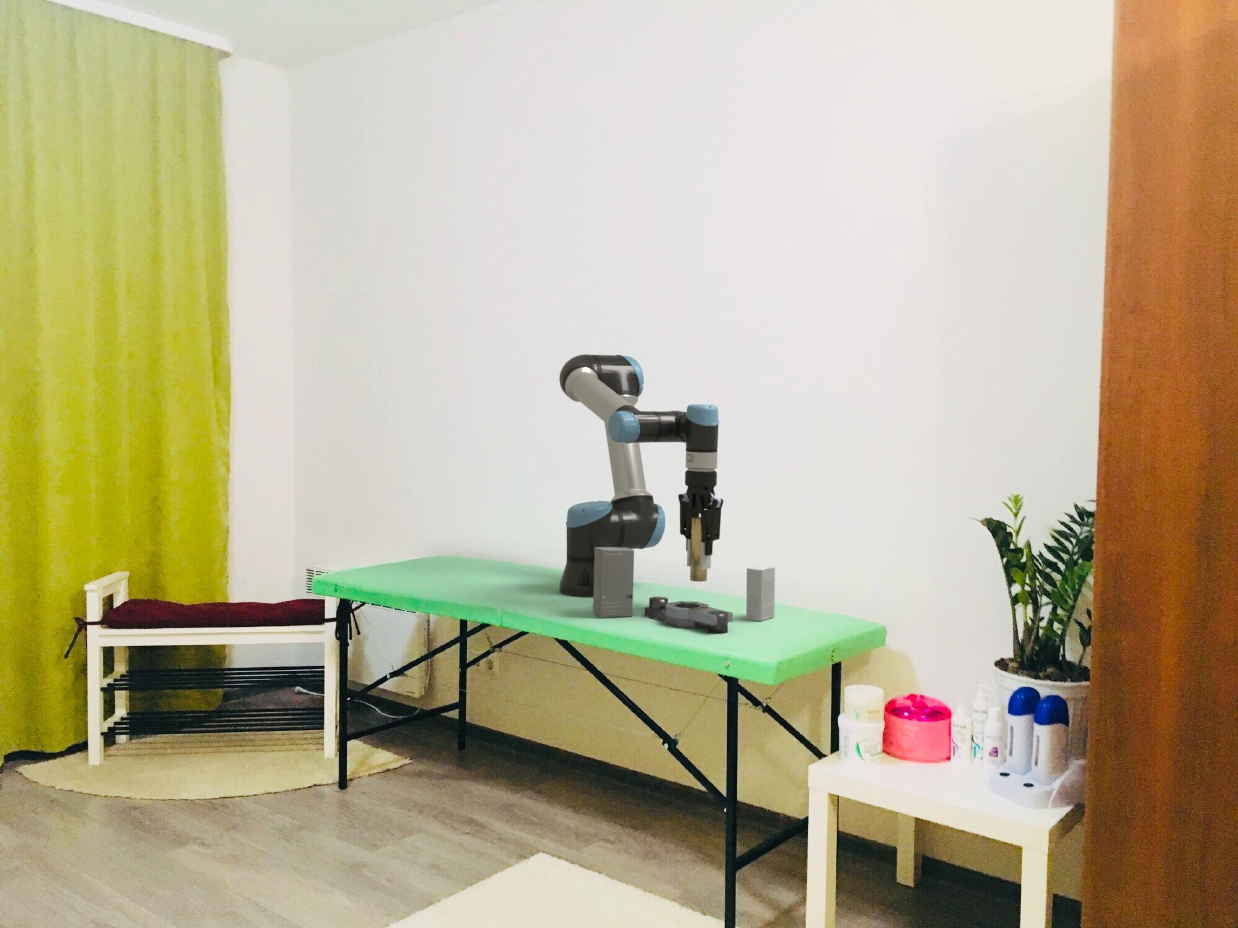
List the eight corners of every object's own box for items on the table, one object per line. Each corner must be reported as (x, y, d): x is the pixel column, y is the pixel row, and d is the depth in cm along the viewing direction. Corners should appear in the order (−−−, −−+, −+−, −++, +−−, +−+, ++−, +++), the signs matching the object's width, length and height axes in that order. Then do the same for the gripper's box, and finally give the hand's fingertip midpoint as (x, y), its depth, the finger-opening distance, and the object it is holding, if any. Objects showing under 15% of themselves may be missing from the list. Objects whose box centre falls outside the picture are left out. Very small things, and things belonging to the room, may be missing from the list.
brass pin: (686, 579, 245) (688, 517, 244) (698, 577, 247) (700, 516, 246) (697, 582, 242) (699, 519, 241) (710, 580, 244) (711, 518, 243)
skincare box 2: (759, 614, 241) (760, 564, 240) (774, 617, 238) (775, 566, 238) (745, 619, 236) (746, 567, 236) (761, 621, 234) (762, 569, 233)
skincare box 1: (599, 618, 235) (600, 550, 234) (591, 612, 242) (592, 545, 241) (634, 616, 238) (635, 549, 237) (626, 610, 245) (626, 544, 244)
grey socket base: (636, 616, 238) (636, 599, 238) (667, 611, 244) (667, 594, 244) (708, 635, 219) (708, 617, 219) (740, 630, 225) (740, 612, 225)
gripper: (665, 467, 247) (663, 563, 249) (714, 473, 233) (711, 574, 235) (688, 466, 251) (686, 560, 253) (737, 471, 238) (735, 571, 240)
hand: (698, 566), depth 244 cm, fingers closed on brass pin, 4 cm apart
